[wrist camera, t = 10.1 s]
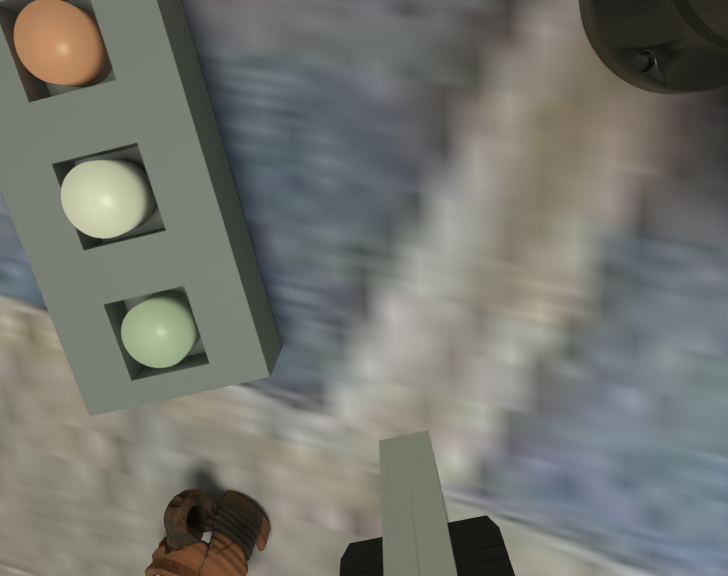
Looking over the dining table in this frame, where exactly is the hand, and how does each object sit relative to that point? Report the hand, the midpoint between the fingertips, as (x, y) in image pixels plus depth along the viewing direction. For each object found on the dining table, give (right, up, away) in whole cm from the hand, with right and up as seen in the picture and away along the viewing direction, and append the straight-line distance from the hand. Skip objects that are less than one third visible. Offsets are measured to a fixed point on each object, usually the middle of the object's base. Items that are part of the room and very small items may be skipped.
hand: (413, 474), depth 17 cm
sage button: (-16, +3, +26) cm, 31 cm away
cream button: (-19, +12, +23) cm, 32 cm away
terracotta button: (-21, +22, +21) cm, 37 cm away
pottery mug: (-15, -16, +35) cm, 41 cm away
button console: (-19, +13, +27) cm, 35 cm away
